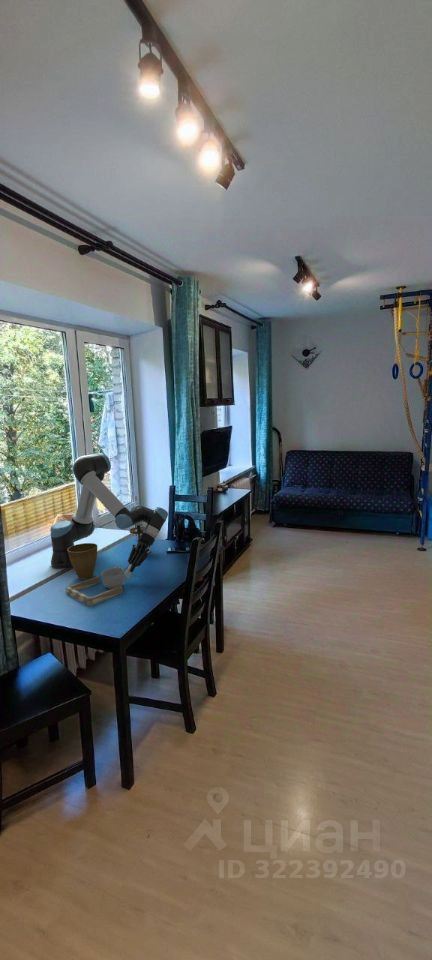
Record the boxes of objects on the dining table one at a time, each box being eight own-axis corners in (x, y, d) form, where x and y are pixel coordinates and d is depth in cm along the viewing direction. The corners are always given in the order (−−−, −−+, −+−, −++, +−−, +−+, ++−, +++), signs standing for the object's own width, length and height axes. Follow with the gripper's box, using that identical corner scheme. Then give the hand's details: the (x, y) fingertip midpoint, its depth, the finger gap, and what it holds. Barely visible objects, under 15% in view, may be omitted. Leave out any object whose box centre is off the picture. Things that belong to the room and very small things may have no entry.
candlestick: (148, 555, 261) (143, 496, 255) (129, 556, 261) (124, 497, 255) (151, 549, 272) (146, 492, 265) (133, 550, 272) (128, 493, 265)
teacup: (119, 591, 213) (117, 575, 212) (98, 590, 216) (97, 574, 214) (131, 580, 226) (130, 565, 225) (111, 579, 229) (110, 564, 228)
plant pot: (106, 575, 234) (103, 546, 231) (80, 584, 224) (77, 554, 221) (90, 569, 244) (87, 540, 241) (65, 577, 234) (61, 548, 231)
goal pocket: (66, 593, 214) (65, 587, 214) (98, 581, 226) (98, 576, 226) (90, 605, 200) (89, 599, 199) (122, 592, 212) (122, 586, 212)
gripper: (161, 541, 229) (139, 583, 221) (145, 536, 238) (123, 577, 229) (152, 534, 224) (129, 577, 216) (136, 530, 233) (113, 571, 225)
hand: (126, 577), depth 223 cm, fingers closed
